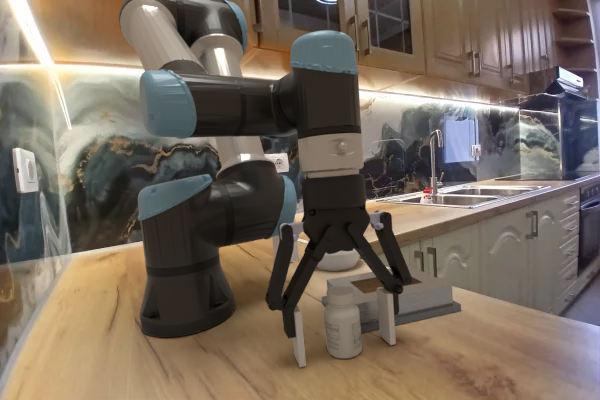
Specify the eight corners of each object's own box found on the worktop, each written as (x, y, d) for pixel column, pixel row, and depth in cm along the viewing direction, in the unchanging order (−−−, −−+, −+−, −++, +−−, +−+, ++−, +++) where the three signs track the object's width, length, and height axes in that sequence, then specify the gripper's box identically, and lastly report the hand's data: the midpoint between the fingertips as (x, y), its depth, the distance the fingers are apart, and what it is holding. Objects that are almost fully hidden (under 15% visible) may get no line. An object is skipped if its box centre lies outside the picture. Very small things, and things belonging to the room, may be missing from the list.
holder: (350, 335, 43) (348, 307, 43) (321, 302, 55) (320, 279, 54) (461, 310, 48) (460, 284, 47) (413, 284, 59) (412, 263, 59)
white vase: (325, 254, 85) (321, 203, 84) (373, 259, 77) (370, 202, 76) (297, 269, 74) (291, 210, 73) (349, 277, 66) (344, 211, 65)
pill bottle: (357, 338, 42) (354, 282, 42) (365, 358, 38) (361, 295, 37) (325, 341, 42) (320, 285, 41) (329, 361, 38) (324, 299, 37)
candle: (288, 255, 87) (284, 201, 86) (303, 259, 82) (298, 202, 81) (269, 260, 83) (264, 204, 82) (283, 265, 78) (278, 205, 77)
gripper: (233, 183, 31) (255, 392, 33) (438, 165, 37) (446, 344, 39) (230, 182, 38) (248, 354, 40) (401, 167, 44) (410, 318, 46)
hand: (345, 349), depth 40 cm, fingers open, 11 cm apart
